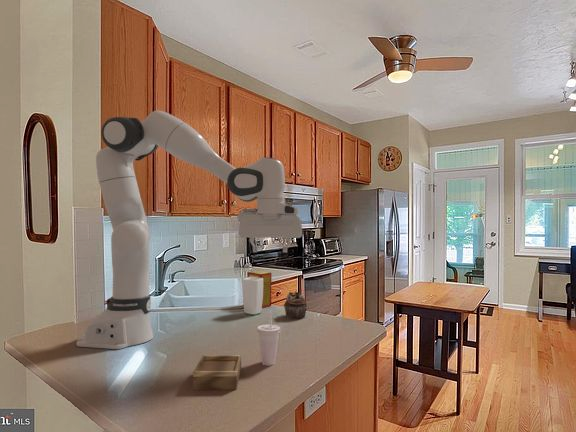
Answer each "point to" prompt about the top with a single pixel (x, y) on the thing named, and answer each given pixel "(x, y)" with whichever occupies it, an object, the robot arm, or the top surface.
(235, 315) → the top surface
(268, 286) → the baking soda box
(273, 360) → the smoothie
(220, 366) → the wooden tray
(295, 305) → the cupcake
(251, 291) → the cup
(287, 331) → the top surface
